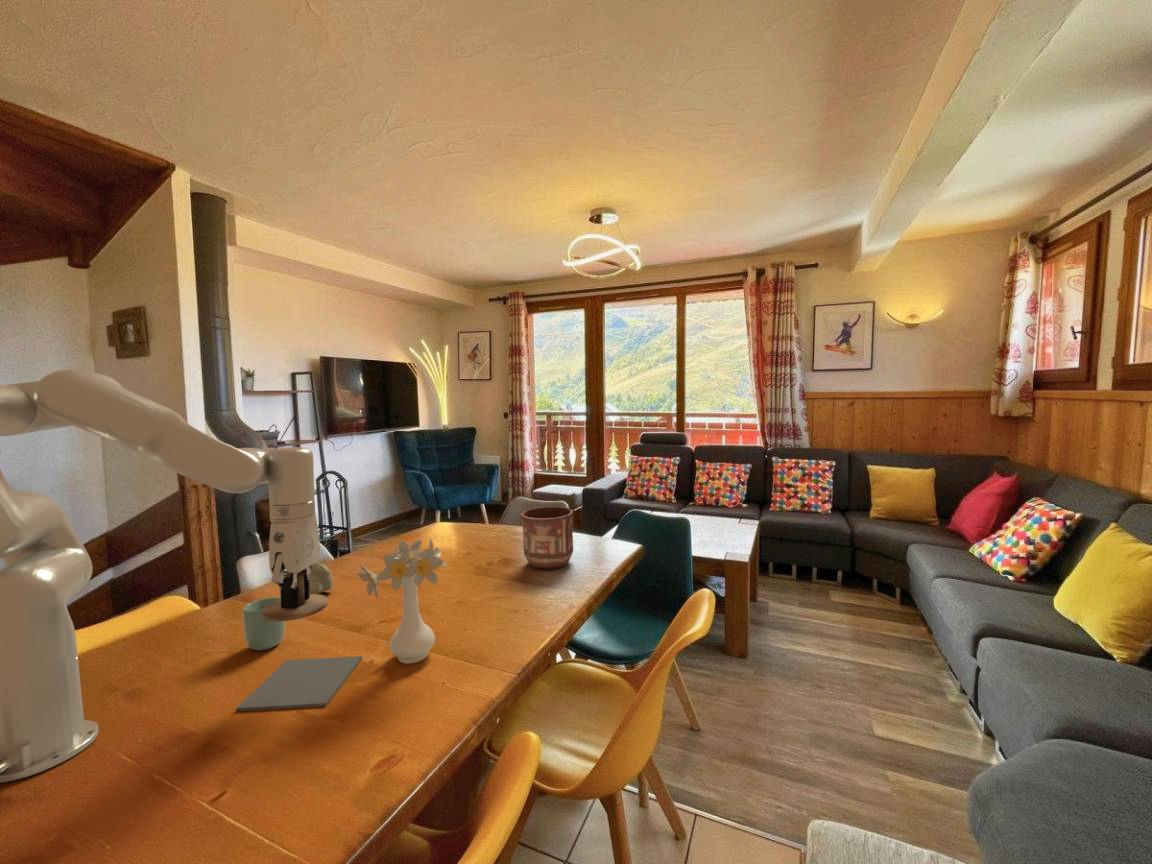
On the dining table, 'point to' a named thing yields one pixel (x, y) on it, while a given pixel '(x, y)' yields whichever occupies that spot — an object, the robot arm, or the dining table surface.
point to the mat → (301, 684)
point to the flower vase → (408, 597)
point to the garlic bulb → (320, 578)
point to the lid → (305, 608)
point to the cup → (261, 626)
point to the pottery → (548, 536)
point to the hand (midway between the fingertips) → (295, 602)
